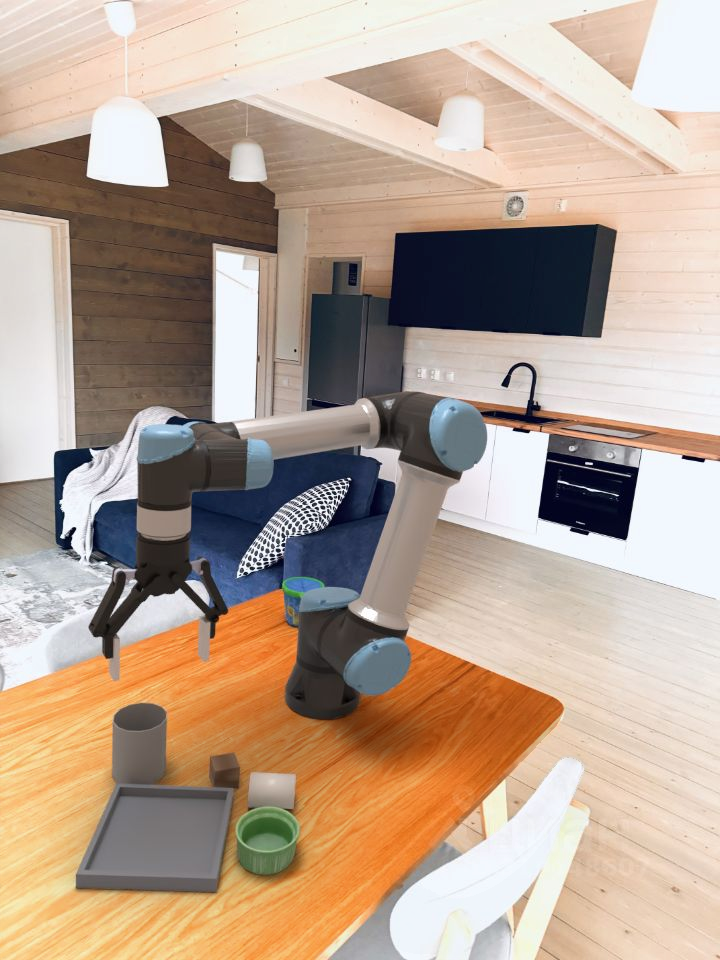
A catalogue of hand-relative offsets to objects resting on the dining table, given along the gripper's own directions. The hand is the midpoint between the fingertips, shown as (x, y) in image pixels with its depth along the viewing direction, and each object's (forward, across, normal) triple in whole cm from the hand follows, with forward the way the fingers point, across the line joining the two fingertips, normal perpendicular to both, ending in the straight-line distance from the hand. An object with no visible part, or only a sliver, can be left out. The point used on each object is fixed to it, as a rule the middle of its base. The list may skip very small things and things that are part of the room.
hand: (160, 667), depth 104 cm
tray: (+21, +3, +11) cm, 24 cm away
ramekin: (+22, -9, +20) cm, 31 cm away
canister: (+21, -14, +12) cm, 28 cm away
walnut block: (+21, -10, +3) cm, 24 cm away
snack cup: (+22, -51, -45) cm, 72 cm away
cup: (+22, +1, -6) cm, 22 cm away
